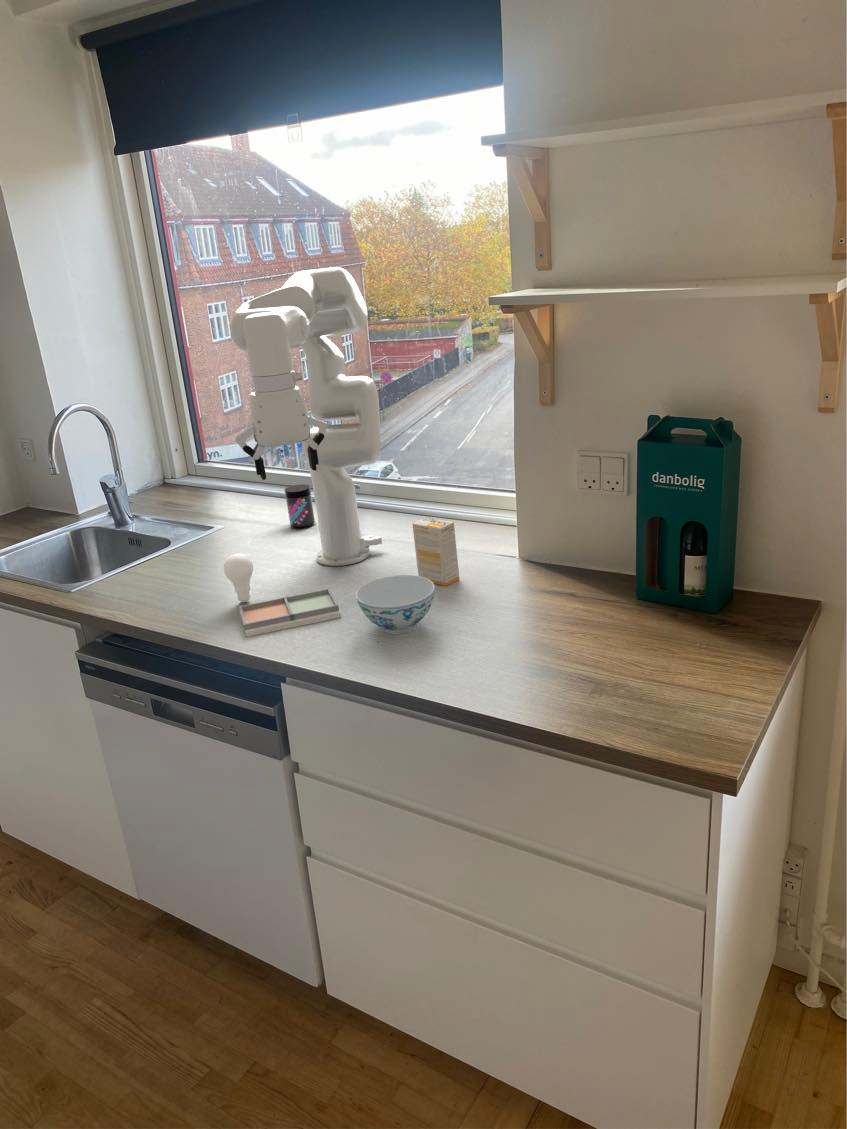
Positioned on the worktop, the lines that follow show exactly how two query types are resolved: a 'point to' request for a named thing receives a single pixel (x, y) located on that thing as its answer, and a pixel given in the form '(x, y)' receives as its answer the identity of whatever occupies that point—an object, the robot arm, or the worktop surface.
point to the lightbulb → (239, 574)
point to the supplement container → (300, 506)
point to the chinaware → (396, 601)
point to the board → (289, 612)
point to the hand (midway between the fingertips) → (288, 473)
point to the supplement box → (436, 550)
